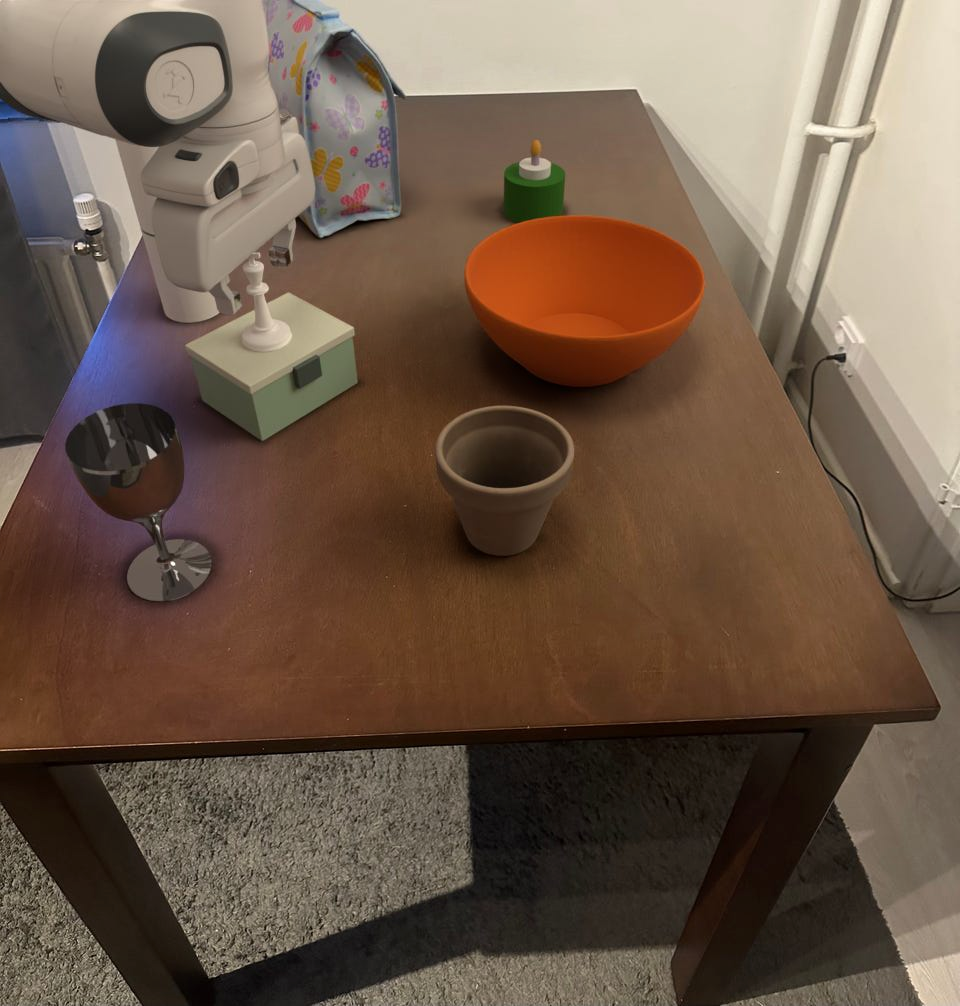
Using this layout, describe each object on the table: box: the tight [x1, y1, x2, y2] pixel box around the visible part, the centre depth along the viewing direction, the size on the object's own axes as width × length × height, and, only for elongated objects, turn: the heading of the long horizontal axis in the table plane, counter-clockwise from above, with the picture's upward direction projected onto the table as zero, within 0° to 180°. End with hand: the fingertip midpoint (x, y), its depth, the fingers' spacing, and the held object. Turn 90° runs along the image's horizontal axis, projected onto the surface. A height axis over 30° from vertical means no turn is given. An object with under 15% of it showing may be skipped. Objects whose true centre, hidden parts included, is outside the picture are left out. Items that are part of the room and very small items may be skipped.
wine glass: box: [64, 402, 213, 603], centre depth 71 cm, size 8×8×15 cm
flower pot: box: [434, 405, 576, 557], centre depth 77 cm, size 12×11×10 cm
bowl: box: [463, 214, 706, 388], centre depth 97 cm, size 25×25×10 cm
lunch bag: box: [262, 0, 407, 239], centre depth 118 cm, size 22×17×26 cm
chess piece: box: [241, 251, 292, 352], centre depth 86 cm, size 5×5×10 cm
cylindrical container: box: [114, 139, 221, 324], centre depth 98 cm, size 7×7×25 cm
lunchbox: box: [184, 292, 359, 442], centre depth 92 cm, size 13×11×7 cm
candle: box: [503, 139, 566, 224], centre depth 121 cm, size 8×8×10 cm
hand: (257, 286), depth 86 cm, fingers open, 8 cm apart
